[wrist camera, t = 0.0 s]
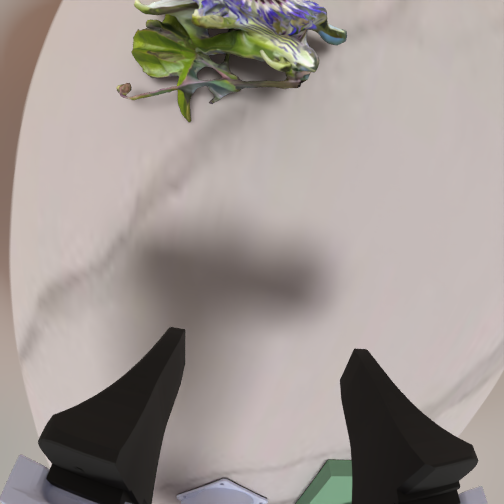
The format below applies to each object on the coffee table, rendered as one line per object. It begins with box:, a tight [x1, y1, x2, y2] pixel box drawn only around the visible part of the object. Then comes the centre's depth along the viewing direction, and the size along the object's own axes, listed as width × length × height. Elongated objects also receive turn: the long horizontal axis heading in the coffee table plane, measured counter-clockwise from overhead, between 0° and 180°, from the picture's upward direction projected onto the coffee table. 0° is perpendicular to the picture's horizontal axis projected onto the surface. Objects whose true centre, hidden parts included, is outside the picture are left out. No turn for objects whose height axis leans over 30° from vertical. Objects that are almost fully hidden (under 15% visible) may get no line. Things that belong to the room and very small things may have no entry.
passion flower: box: [117, 0, 347, 122], centre depth 15 cm, size 11×11×12 cm
